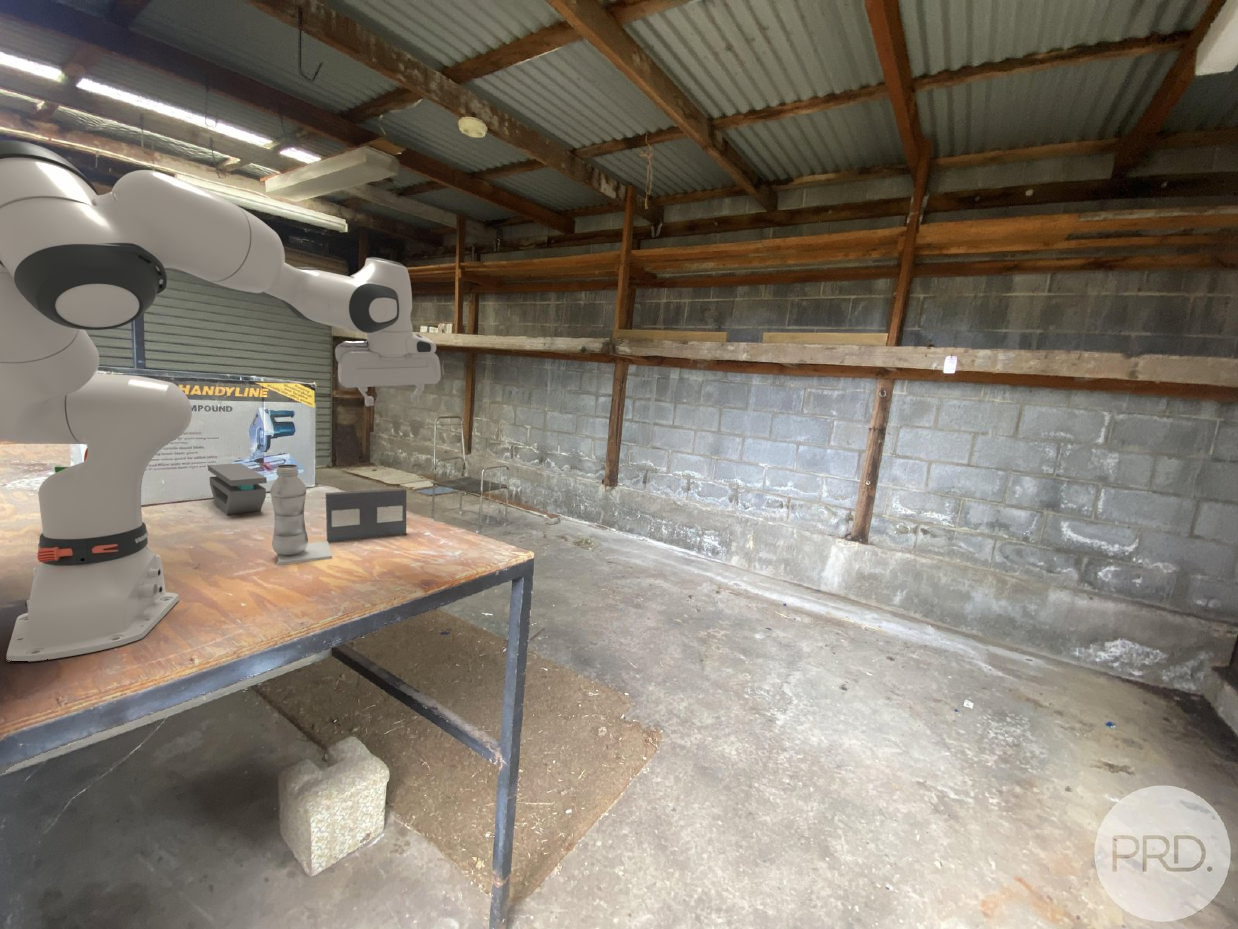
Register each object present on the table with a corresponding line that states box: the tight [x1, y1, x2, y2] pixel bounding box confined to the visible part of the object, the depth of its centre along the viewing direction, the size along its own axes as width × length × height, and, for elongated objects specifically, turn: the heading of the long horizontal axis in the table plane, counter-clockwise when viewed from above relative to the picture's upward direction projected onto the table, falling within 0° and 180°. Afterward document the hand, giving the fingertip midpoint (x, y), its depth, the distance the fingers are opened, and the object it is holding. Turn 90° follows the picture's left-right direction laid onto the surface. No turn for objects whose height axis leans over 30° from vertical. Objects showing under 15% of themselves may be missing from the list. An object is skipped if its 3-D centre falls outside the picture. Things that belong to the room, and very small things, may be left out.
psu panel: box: [325, 488, 407, 544], centre depth 126 cm, size 2×18×12 cm, turn 125°
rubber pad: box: [277, 540, 333, 566], centre depth 113 cm, size 11×10×1 cm
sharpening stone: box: [207, 462, 268, 516], centre depth 143 cm, size 25×8×11 cm, turn 50°
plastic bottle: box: [270, 463, 309, 555], centre depth 109 cm, size 6×7×20 cm
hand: (392, 403), depth 110 cm, fingers open, 8 cm apart
